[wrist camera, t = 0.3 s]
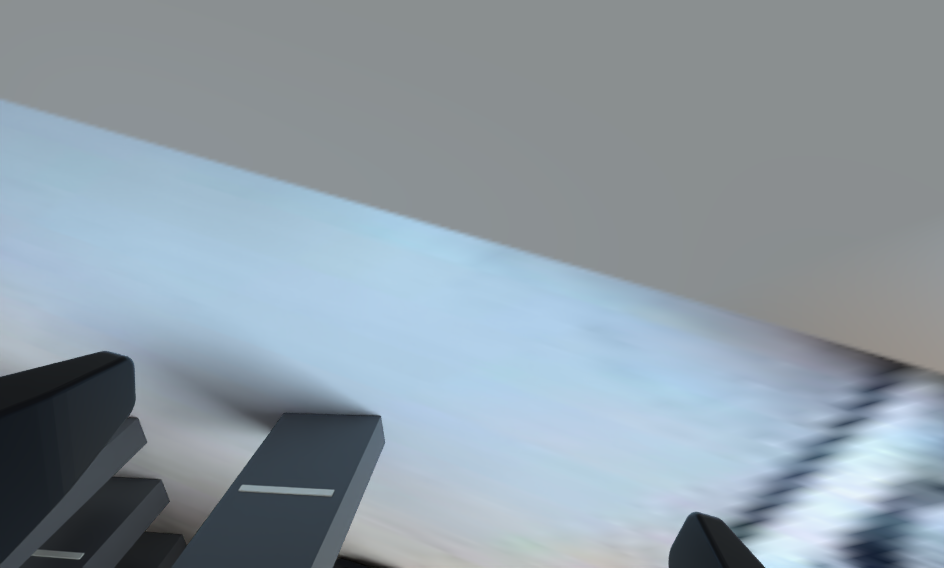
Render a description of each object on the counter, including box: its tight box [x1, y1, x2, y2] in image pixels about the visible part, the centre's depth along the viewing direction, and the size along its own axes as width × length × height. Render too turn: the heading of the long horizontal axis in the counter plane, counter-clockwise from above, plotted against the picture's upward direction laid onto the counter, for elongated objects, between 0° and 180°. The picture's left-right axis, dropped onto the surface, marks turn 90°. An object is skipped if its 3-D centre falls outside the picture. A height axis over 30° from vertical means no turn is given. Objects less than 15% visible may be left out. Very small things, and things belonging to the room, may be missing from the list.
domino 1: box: [0, 418, 147, 568], centre depth 24 cm, size 2×5×10 cm, turn 94°
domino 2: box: [19, 477, 170, 568], centre depth 26 cm, size 2×5×10 cm, turn 94°
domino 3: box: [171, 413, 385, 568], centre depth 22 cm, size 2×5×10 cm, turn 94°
